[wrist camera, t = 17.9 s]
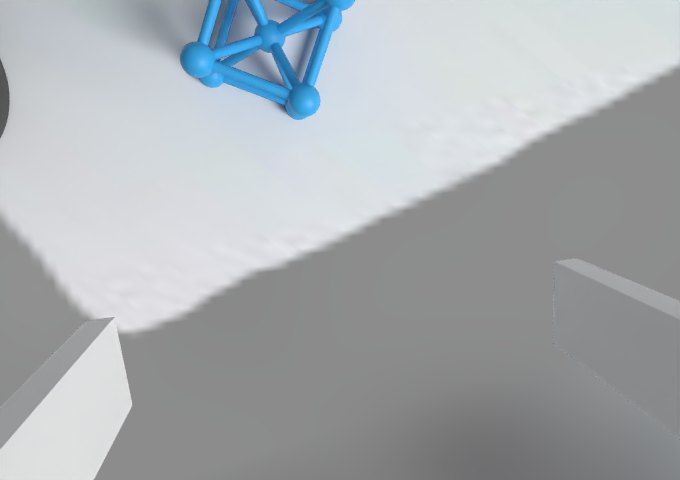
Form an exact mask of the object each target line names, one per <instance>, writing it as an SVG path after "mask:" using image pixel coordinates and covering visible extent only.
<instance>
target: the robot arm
mask: <svg viewBox="0 0 680 480" xmlns="http://www.w3.org/2000/svg"><path fill="white" fill-rule="evenodd" d="M8 113H9V88H8V82H7V77H6V74H5V70H4V67H3V65H2V62H1V60H0V138H1V136H2V134H3V131H4V129H5V126H6V122H7V118H8ZM553 336H554V337H553V339H554V340H553V344H555V345H556V346H557V347H558V348H560V349H561V350H562V351H564V352H565V353H566V354H568V355H569V356H570V357H572V358H573V359H574V360H576V361H577V362H578V363H580V364H581V365H582V366H584V367H585V368H586V369H588V370H589V371H590V372H592V373H593V374H594V375H595V376H597V377H598V378H599V379H601V380H602V381H603V382H605V383H606V384H607V385H609V386H610V387H611V388H613V389H614V390H615V391H617V392H618V393H619V394H621V395H622V396H623V397H625V398H626V399H627V400H628V401H630V402H631V403H632V404H634V405H635V406H636V407H638V408H639V409H640V410H642V411H643V412H644V413H646V414H647V415H648V416H650V417H651V418H652V419H654V420H655V421H656V422H658V423H659V424H660V425H662V426H663V427H664V428H665V429H667V430H668V431H670V432H671V433H672V434H673V435H675V436H676V437H677V438H679V439H680V301H678V300H676V299H673V298H671V297H669V296H666V295H664V294H661V293H659V292H657V291H654V290H652V289H649V288H647V287H645V286H642V285H640V284H637V283H635V282H633V281H630V280H628V279H625V278H623V277H621V276H618V275H616V274H613V273H611V272H608V271H606V270H604V269H601V268H599V267H597V266H594V265H592V264H589V263H587V262H585V261H582V260H580V259H570V260H562V261H554V335H553ZM131 406H132V401H131V396H130V391H129V386H128V381H127V376H126V371H125V367H124V362H123V357H122V353H121V347H120V342H119V337H118V332H117V327H116V323H115V318H114V317H112V318H104V319H96V320H88V321H85V322H84V323H83V325H81V326H80V327H79V328H78V329H77V330H76V331H75V332H74V334H72V335H71V336H70V337H69V338H68V339H67V340H66V341H65V342H64V343H63V344H62V346H60V347H59V348H58V349H57V350H56V351H55V353H53V354H52V356H50V358H48V359H47V360H46V361H45V362H44V363H43V364H42V365H41V366H40V367H39V368H38V369H37V370H36V371H35V372H34V373H33V374H32V375H31V377H29V379H28V380H26V381H25V382H24V383H23V385H21V387H20V388H18V389H17V390H16V392H15V393H13V394H12V395H11V396H10V397H9V399H7V400H6V402H5V403H3V404H2V406H1V407H0V480H94V478H95V476H96V474H97V472H98V470H99V468H100V466H101V464H102V463H103V461H104V459H105V457H106V455H107V453H108V451H109V449H110V447H111V445H112V443H113V441H114V439H115V438H116V436H117V433H118V432H119V430H120V428H121V426H122V424H123V422H124V420H125V418H126V416H127V414H128V413H129V411H130V409H131Z"/></svg>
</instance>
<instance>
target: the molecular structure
mask: <svg viewBox="0 0 680 480" xmlns="http://www.w3.org/2000/svg"><path fill="white" fill-rule="evenodd" d="M221 1H222V0H209V4H208V7H207V10H206V14H205V17H204V21H203V24H202V28H201V31H200V34H199V38H198V41H197V42H191V43H188V44H187V45H186V46H184V48H183V49H182V51H181V54H180V61H181V65H182V67H183V69H184V70H185V71H186V72H187V73H188V74H189V75H191V76H193V77H197V78H199V80H200V81H201V83H202V84H204V85H205V86H207V87H211V88H213V87H218V86H220V85H221V84H222V83H223V82H224V83H227V84H229V85H232V86H235V87H237V88H240V89H243V90H245V91H248V92H251V93H253V94H256V95H259V96H261V97H264V98H267V99H269V100H272V101H275V102H277V103H280V104H283V105H285V109H286V111H287V113H288V115H289V116H290V117H292V118H293V119H297V120H302V119H304V118H306V117H308V116H311V115H313V114H314V113H315V112H316V111H317V110H318V108H319V106H320V96H319V93H318V91H317V90H316V88H314V85H315V82H316V79H317V76H318V73H319V70H320V67H321V64H322V61H323V58H324V56H325V53H326V50H327V47H328V44H329V41H330V38H331V35H332V32H333V31H335V30H336V29H338V27H339V26H340V24H341V21H342V14H341V11H343V10H346V9H348V8H349V7H351V6H352V5H353V3H354V2H355V0H316V1H315V2H313V3H312V4H307V3H305V2H303V1H300V0H276V1H278V2H281V3H283V4H285V5H288V6H290V7H292V8H295V9H297V10H300V11H299V12H298V13H296V14H294V15H293V16H291V17H290V18H288V19H287V20H285V21H284V22H282V23H280V24H279V23H278V22H276V21H273V20H268V18H267V16H266V13H265V11H264V8H263V6H262V4H261V1H260V0H245V1H246V3H247V5H248V7H249V8H250V10H251V12H252V14H253V16H254V18H255V20H256V22H257V23H258V26H257V27H256V29H255V33H254V36H252V37H249V38H246V39H243V40H240V41H237V42H233V43H230V44H227V45H225V43H226V40H227V36H228V33H229V30H230V27H231V23H232V20H233V17H234V13H235V10H236V7H237V3H238V0H229V1H228V4H227V7H226V11H225V14H224V17H223V21H222V24H221V27H220V31H219V34H218V37H217V41H216V44H215V47H214V49H211V48H210V47H208V44H209V41H210V37H211V34H212V31H213V27H214V24H215V21H216V17H217V14H218V11H219V7H220V4H221ZM312 16H314V17H312ZM310 17H312V18H310ZM308 18H309V19H308ZM316 26H317V27H318V28H319V29H320V30H319V33H318V36H317V39H316V42H315V45H314V48H313V51H312V54H311V57H310V60H309V63H308V66H307V69H306V72H305V75H304V78H303V81H302V83H300V81H299V79H298V78H297V76H296V74H295V72H294V70H293V68H292V67H291V65H290V63H289V61H288V59H287V57H286V55H285V54H284V52H283V50H282V48H281V47H282V46H283V44H284V42H285V37H286V36H289V35H292V34H295V33H298V32H301V31H304V30H307V29H310V28H313V27H316ZM258 49H261V50H263V51H265V52H268V53H272V55H273V57H274V60H275V62H276V64H277V67H278V69H279V72H280V74H281V76H282V79H283V81H284V83H285V86H286V88H285V87H283V86H280V85H277V84H275V83H272V82H270V81H267V80H264V79H262V78H259V77H257V76H254V75H251V74H249V73H246V72H243V71H241V70H238V69H236V68H233V67H231V66H233V65H234V64H236V63H238V62H239V61H241V60H242V59H244V58H246V57H247V56H249V55H250V54H252V53H254V52H255V51H257V50H258ZM229 55H230V56H229ZM226 56H229V57H227V58H226V59H224V60H222V61H221V62H220V60H221V58H223V57H226Z"/></svg>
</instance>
